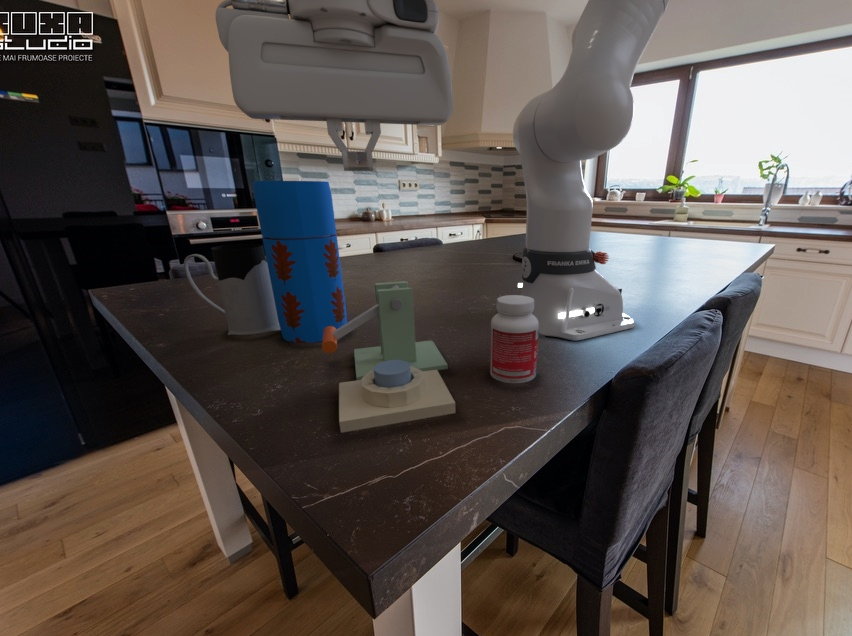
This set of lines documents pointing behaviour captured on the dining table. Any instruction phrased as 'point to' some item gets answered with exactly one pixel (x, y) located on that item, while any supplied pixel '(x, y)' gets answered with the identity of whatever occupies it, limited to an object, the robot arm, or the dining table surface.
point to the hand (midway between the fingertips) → (358, 170)
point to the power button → (392, 373)
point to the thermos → (302, 256)
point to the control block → (392, 401)
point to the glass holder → (242, 288)
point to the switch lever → (346, 328)
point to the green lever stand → (397, 334)
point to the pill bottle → (514, 340)
